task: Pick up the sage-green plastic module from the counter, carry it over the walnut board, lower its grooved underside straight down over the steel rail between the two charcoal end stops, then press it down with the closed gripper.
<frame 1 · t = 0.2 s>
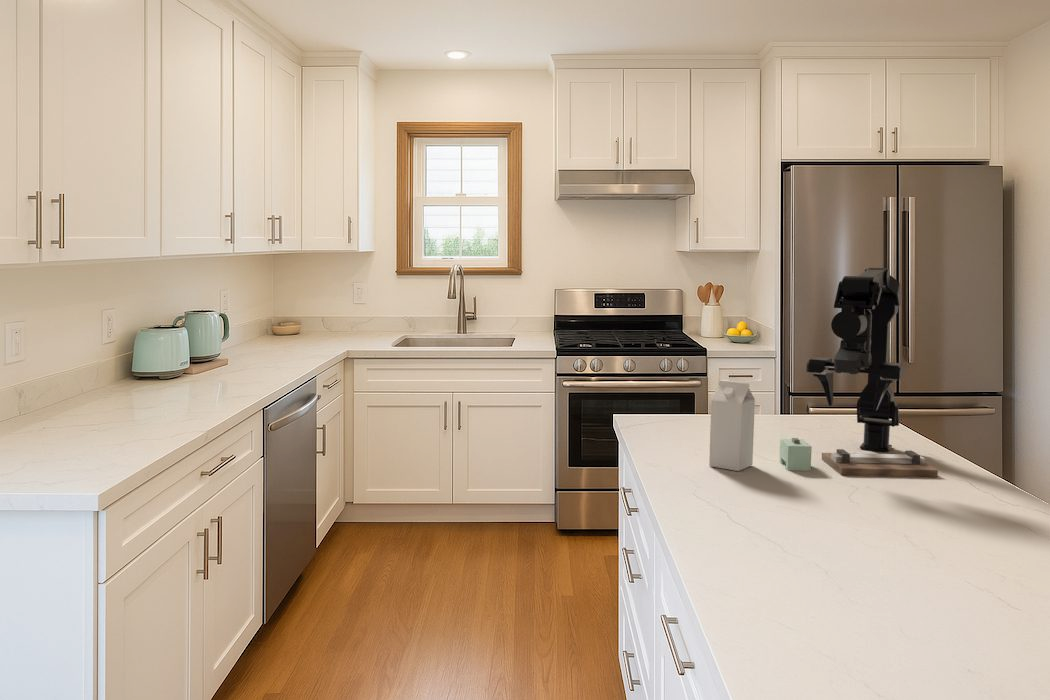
hand: (852, 407, 173), 14 cm above the worktop, fingers open, 9 cm apart
milk carton: (730, 467, 180), on the worktop
module: (794, 466, 180), on the worktop
rail board: (876, 467, 179), on the worktop
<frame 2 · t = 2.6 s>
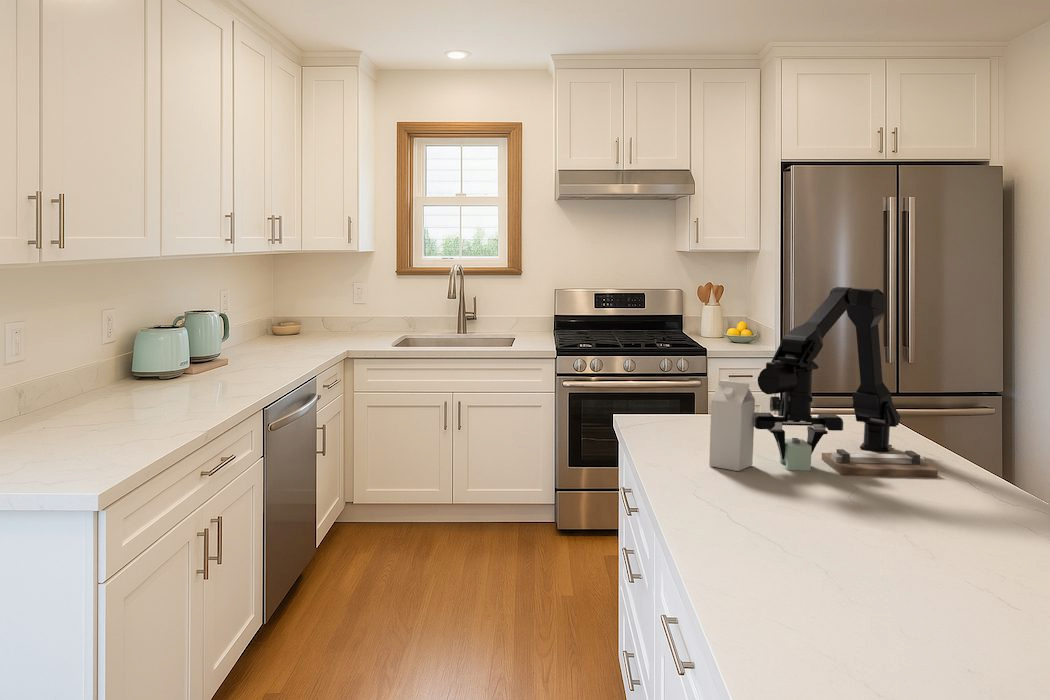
hand: (795, 459, 180), 2 cm above the worktop, fingers closed on module, 5 cm apart
module: (794, 466, 180), on the worktop, touching gripper
everything else where it was.
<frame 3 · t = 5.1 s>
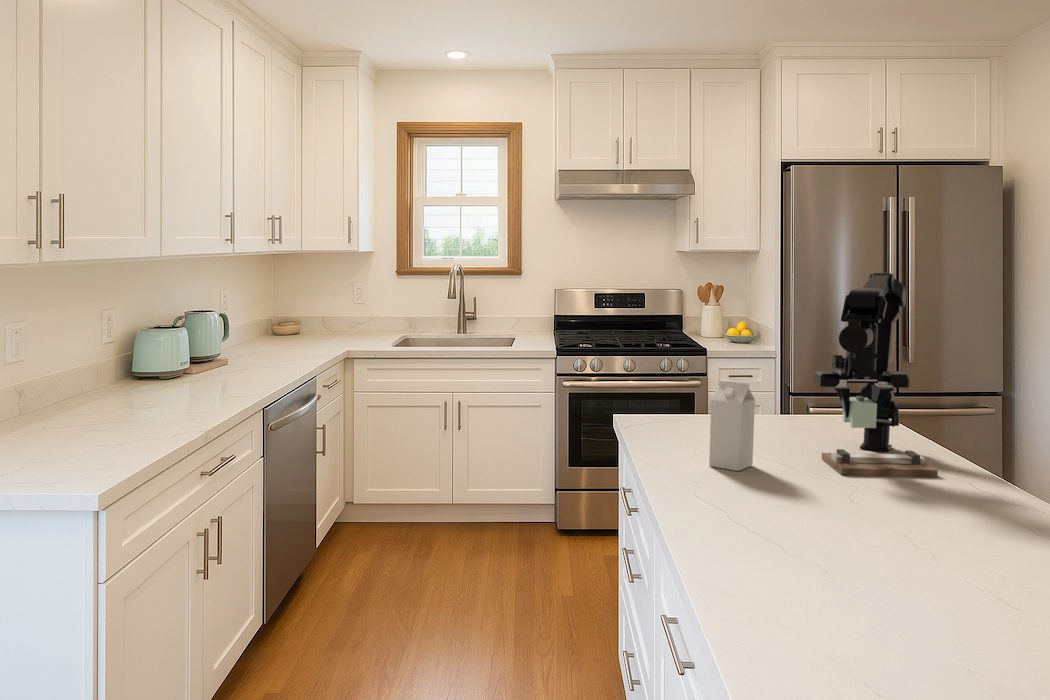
hand: (859, 417, 178), 11 cm above the worktop, fingers closed on module, 5 cm apart
module: (858, 424, 178), point 10 cm above the worktop, touching gripper
everything else where it was.
when the fingers open (4 cm above the worktop, at t = 7.3 s): module stays where it is, resting on rail board.
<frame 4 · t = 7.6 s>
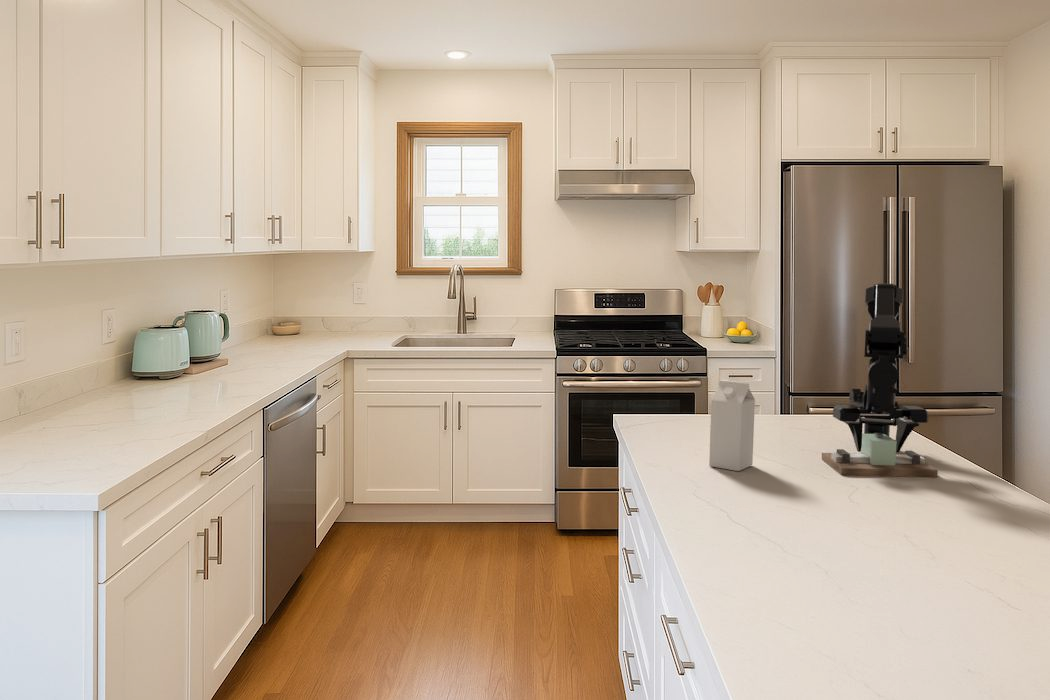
hand: (877, 451, 179), 4 cm above the worktop, fingers open, 8 cm apart
module: (877, 461, 179), point 1 cm above the worktop, touching rail board
everything else where it was.
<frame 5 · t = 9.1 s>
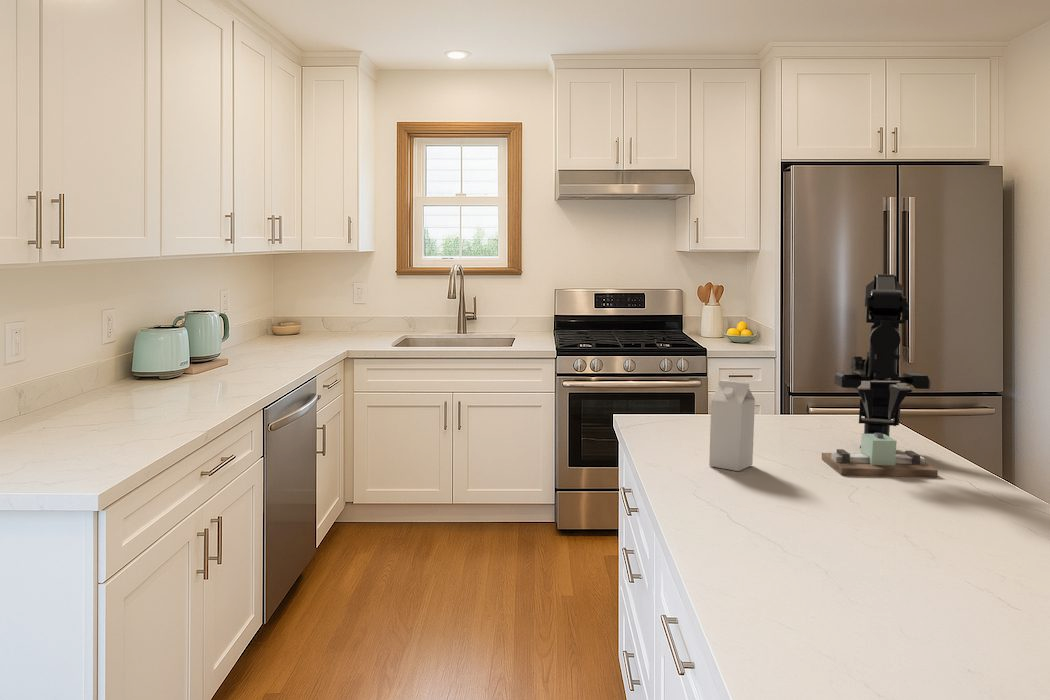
hand: (879, 419, 178), 11 cm above the worktop, fingers open, 4 cm apart
nothing on the worktop moved.
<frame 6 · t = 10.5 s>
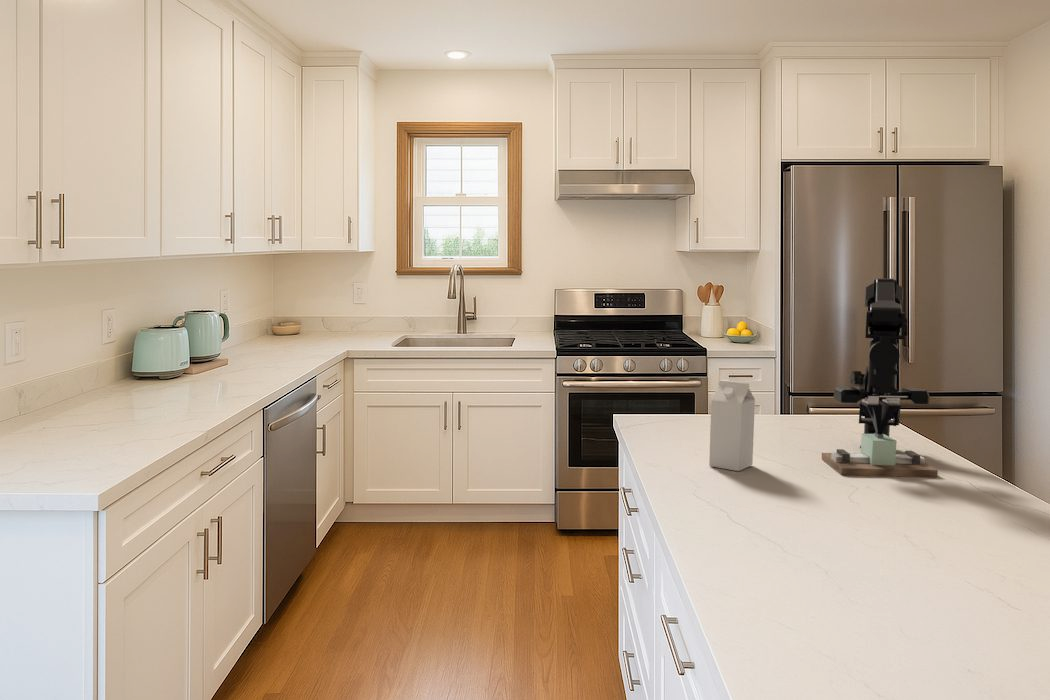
hand: (878, 433, 178), 8 cm above the worktop, fingers closed, pressing on module
module: (877, 461, 179), point 1 cm above the worktop, touching gripper, rail board
everything else where it was.
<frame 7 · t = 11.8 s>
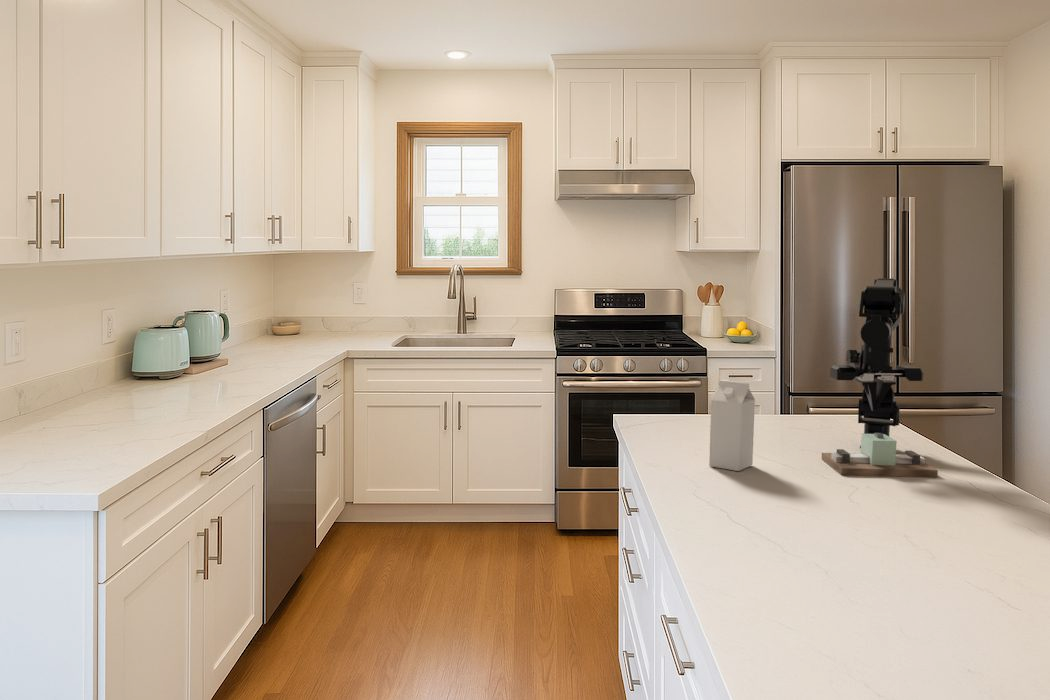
hand: (873, 410, 183), 12 cm above the worktop, fingers closed
module: (877, 461, 179), point 1 cm above the worktop, touching rail board
everything else where it was.
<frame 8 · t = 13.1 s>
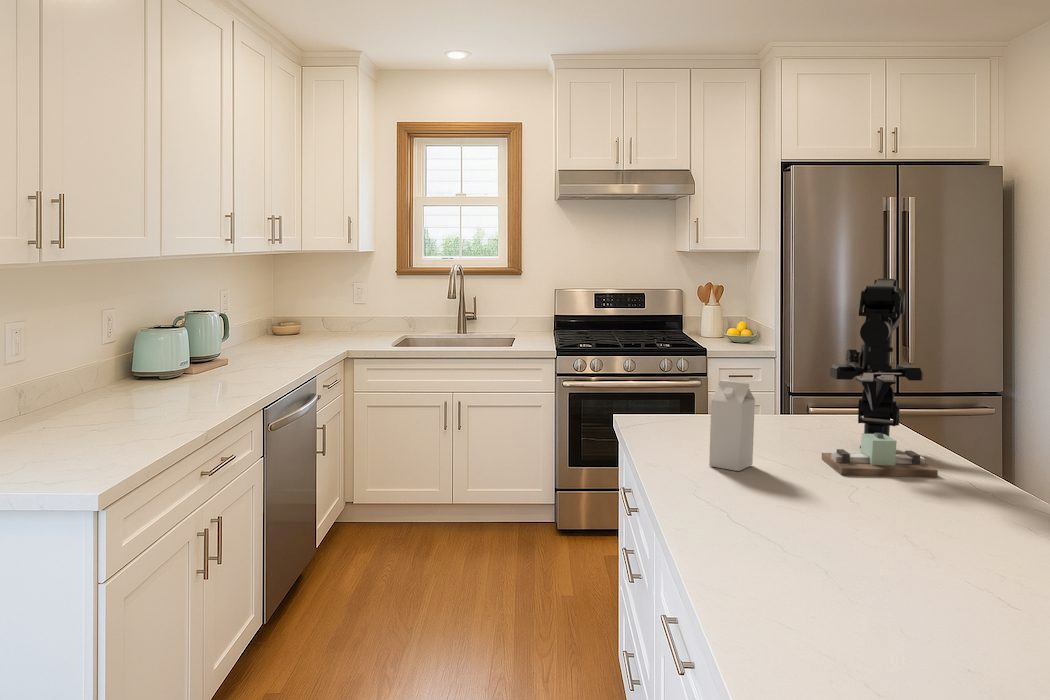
hand: (873, 410, 183), 12 cm above the worktop, fingers closed
nothing on the worktop moved.
at the end: module 0.0 cm off-centre on the rail board, point 1.5 cm above the rail board's base; module tilted 0°; the gripper is holding nothing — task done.
